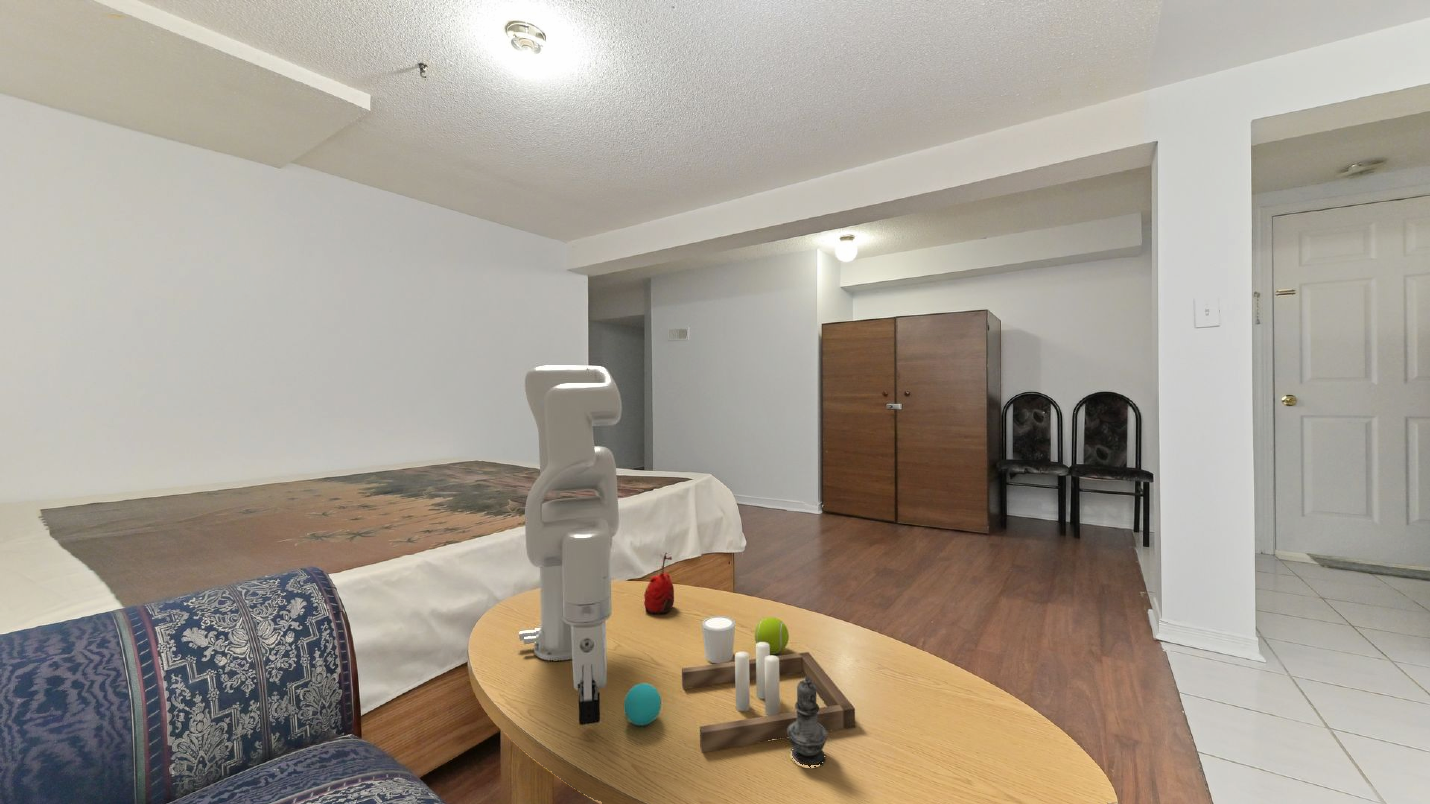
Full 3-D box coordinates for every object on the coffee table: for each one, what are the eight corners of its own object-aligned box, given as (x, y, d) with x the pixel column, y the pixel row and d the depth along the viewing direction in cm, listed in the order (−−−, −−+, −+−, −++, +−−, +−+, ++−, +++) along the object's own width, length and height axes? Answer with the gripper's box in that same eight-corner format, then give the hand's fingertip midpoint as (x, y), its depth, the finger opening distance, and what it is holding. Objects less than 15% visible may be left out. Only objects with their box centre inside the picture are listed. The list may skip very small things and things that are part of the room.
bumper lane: (701, 752, 79) (701, 732, 79) (682, 684, 98) (681, 668, 98) (855, 727, 85) (854, 708, 85) (808, 667, 103) (808, 652, 103)
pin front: (737, 712, 89) (737, 659, 89) (734, 704, 91) (733, 652, 91) (751, 710, 90) (750, 657, 89) (747, 702, 92) (746, 650, 92)
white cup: (732, 666, 104) (732, 631, 104) (698, 663, 105) (698, 628, 105) (738, 649, 111) (737, 616, 111) (706, 647, 112) (705, 614, 112)
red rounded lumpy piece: (664, 602, 137) (663, 544, 136) (680, 610, 131) (679, 550, 131) (639, 610, 132) (638, 550, 131) (654, 619, 126) (653, 556, 126)
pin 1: (758, 700, 92) (758, 649, 92) (754, 692, 95) (754, 642, 95) (772, 698, 93) (771, 647, 93) (767, 690, 95) (767, 641, 95)
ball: (625, 736, 83) (624, 698, 83) (623, 714, 89) (622, 678, 89) (663, 730, 84) (662, 693, 84) (659, 708, 90) (658, 674, 90)
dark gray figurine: (797, 774, 74) (796, 690, 74) (781, 747, 80) (780, 669, 80) (835, 765, 76) (834, 682, 76) (816, 739, 82) (815, 663, 82)
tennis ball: (751, 658, 107) (750, 623, 107) (759, 642, 114) (759, 610, 114) (785, 663, 105) (784, 628, 105) (791, 647, 112) (791, 614, 111)
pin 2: (768, 717, 88) (767, 663, 87) (763, 708, 90) (762, 656, 90) (781, 715, 88) (781, 661, 88) (776, 706, 90) (776, 654, 90)
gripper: (611, 624, 78) (614, 747, 78) (611, 588, 93) (612, 692, 93) (558, 630, 76) (561, 755, 77) (566, 592, 91) (568, 697, 91)
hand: (589, 720), depth 85 cm, fingers closed
